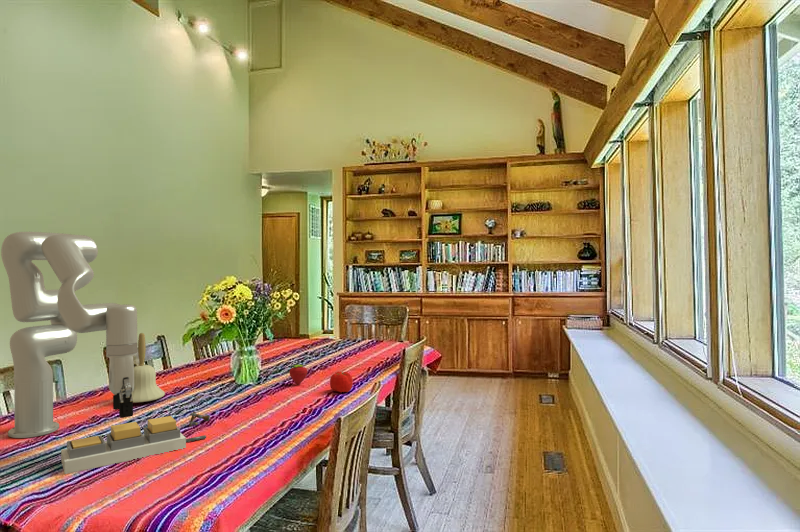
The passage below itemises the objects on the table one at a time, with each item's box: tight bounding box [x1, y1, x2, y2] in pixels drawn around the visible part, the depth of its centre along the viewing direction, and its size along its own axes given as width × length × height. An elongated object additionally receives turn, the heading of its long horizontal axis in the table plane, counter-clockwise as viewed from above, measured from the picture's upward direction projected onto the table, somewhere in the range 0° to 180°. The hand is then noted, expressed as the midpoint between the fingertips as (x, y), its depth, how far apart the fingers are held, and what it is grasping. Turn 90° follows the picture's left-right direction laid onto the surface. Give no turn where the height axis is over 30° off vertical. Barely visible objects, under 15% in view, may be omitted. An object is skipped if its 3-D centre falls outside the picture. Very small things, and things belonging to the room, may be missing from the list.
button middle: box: [110, 421, 141, 440], centre depth 138 cm, size 6×6×2 cm
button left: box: [70, 435, 101, 449], centre depth 132 cm, size 6×6×2 cm
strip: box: [60, 425, 207, 475], centre depth 140 cm, size 10×35×5 cm, turn 127°
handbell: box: [132, 332, 166, 404], centre depth 190 cm, size 15×15×25 cm
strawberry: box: [288, 361, 308, 386], centre depth 215 cm, size 6×8×10 cm
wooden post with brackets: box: [188, 411, 211, 427], centre depth 164 cm, size 2×8×4 cm, turn 159°
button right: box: [147, 415, 177, 433], centre depth 143 cm, size 6×6×2 cm
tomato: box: [329, 371, 354, 394], centre depth 205 cm, size 9×9×8 cm
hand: (122, 412), depth 141 cm, fingers open, 9 cm apart
